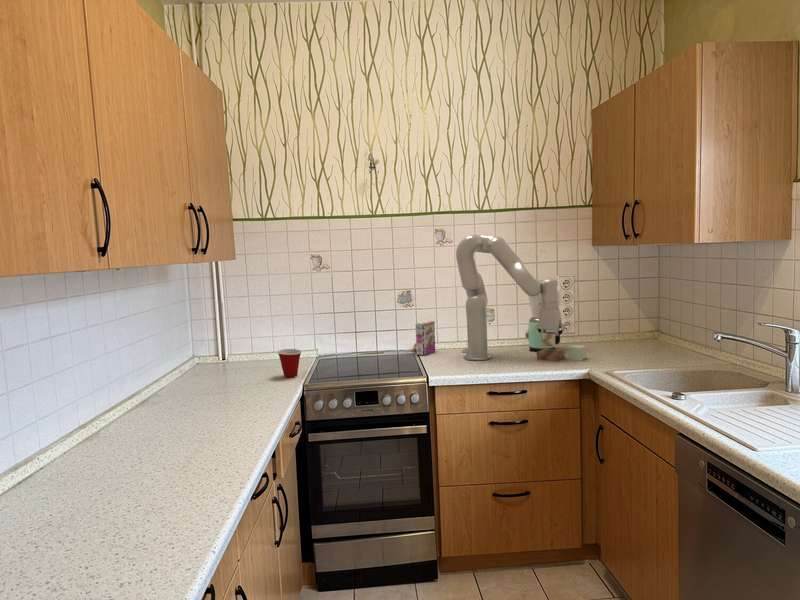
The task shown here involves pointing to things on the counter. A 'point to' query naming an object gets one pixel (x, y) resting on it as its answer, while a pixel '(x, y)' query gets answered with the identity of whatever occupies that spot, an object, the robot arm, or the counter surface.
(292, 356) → the plastic cup
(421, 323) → the candy bar box
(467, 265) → the robot arm
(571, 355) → the sage painted block
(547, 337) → the ash block
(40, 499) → the counter surface
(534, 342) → the mint green blender
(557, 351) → the walnut base block
